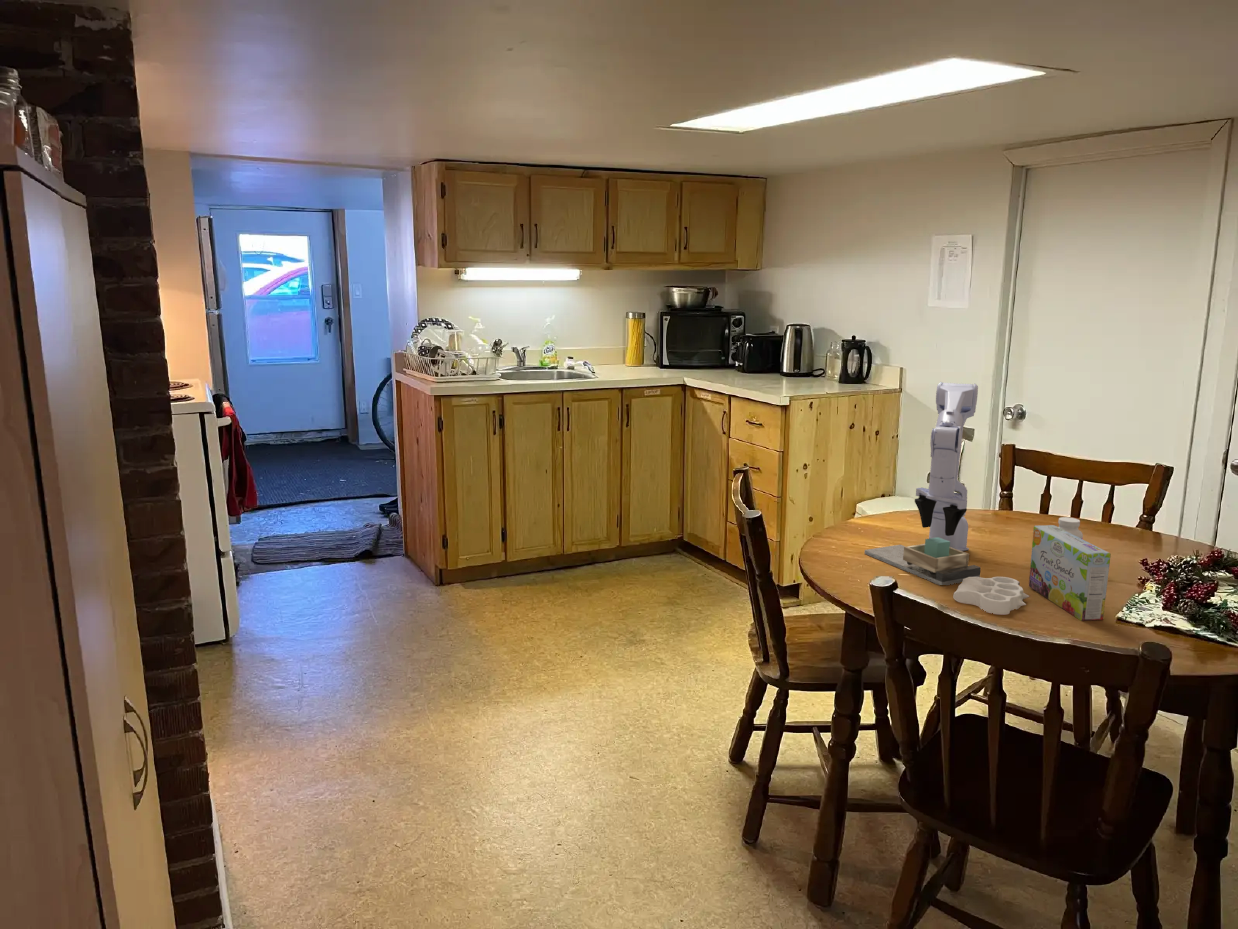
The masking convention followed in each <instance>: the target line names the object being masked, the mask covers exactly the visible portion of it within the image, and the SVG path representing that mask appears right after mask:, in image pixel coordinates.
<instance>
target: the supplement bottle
mask: <svg viewBox="0 0 1238 929" xmlns="http://www.w3.org/2000/svg"><path fill="white" fill-rule="evenodd" d="M1057 523H1058V527H1059V528H1061V529H1063V530H1065V531H1067V532H1069V533H1071V534H1073V535H1075V536H1077V537H1079V538H1080V539H1082V540H1084V538H1083V537H1084V534H1083V532H1082V531H1081V530H1079V527H1080V525H1081V520H1080V519H1078V518H1075V517H1069V516H1067V517H1066V516H1064V517H1061V516H1060V517H1059V518H1058V522H1057Z"/></svg>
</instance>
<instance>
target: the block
mask: <svg viewBox="0 0 1238 929" xmlns="http://www.w3.org/2000/svg"><path fill="white" fill-rule="evenodd" d="M924 544H925V550H924V554H927V555H929V556H932V557H935V558H939V557H945V556H949V548H950V541H947V540H944V539H941V538H938V537H936V538H930V539H929V538H925V541H924Z"/></svg>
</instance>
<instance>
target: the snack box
mask: <svg viewBox="0 0 1238 929" xmlns="http://www.w3.org/2000/svg"><path fill="white" fill-rule="evenodd" d="M1111 557H1112V556H1111V553H1110V552H1109V551H1107V550H1105V549H1102V548H1100V547H1099V546H1096V545H1094V544H1092V543H1090V542H1089V541H1087V540H1084V539H1080V538H1079V537H1077V536H1075V535H1073V534H1071V533H1069V532H1067V531H1065V530H1063V529H1061V528H1059V526H1057V525H1052V524H1049V525H1034V526H1033V532H1032V546H1031V555H1030V569H1029V578H1028V579H1029V580H1028V588H1031V589H1032V590H1034V591H1035V592H1037V593H1039V595H1041V596H1043V597H1045V598H1046V599H1047V600H1049V601H1050V602H1052V603H1053V604H1055V605H1056V606H1058V607H1059V608H1060V609H1063V610H1064V611H1066V612H1067V613H1069V614H1070V615H1071V616H1073V617H1075V618H1076V619H1078V620H1079V621H1081V622H1084V621H1100V620H1101V621H1103V620H1104V616H1105V615H1104V614H1105V606H1106V597H1107V588H1108V580H1109V572H1110V564H1111V563H1110V562H1111Z"/></svg>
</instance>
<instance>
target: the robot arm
mask: <svg viewBox="0 0 1238 929" xmlns="http://www.w3.org/2000/svg"><path fill="white" fill-rule="evenodd" d="M978 391H979V386H978V385H977V383H958V382H943V381H940V382H939V383H938V384H937V386H936V392H935V394H936V395H935V404H936V411H937V414H938V416H937V420H936V424H935V428H933V427H932V429H931V432H930V433H931V434H930V443H929V444H930V458H931V459H930V471H929V473H930V474H929V480H928V481H929V484H928V488H926V487H916V488H915V496H916V497H918V498H914V504H915V505H916V508H917V510H918V513H919V518H920V522H921V526H922V528H923V529H924V528H925V529H926V528H929V534H928V535H929V536H928V539H930V538H936V537H938V538H941V539H944V540H947V541H950V547H952V548H954V549H957V550H960V551H963V552H965V551H969V547H967V544H968V535H969V523H968V520H967V519H966V517H965V516H966V513H967V507H968V489H967V486H965V484H963V483H962V482H961V481H960V480H958V479H959V472H960V471H959V470H960V462H961V451H962V444H963V433H964V426H965V423H966V421H967V419H970V418H971V417H974V415H975V413H976V410H977V409H976V408H977V401H978V393H979V392H978Z"/></svg>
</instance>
